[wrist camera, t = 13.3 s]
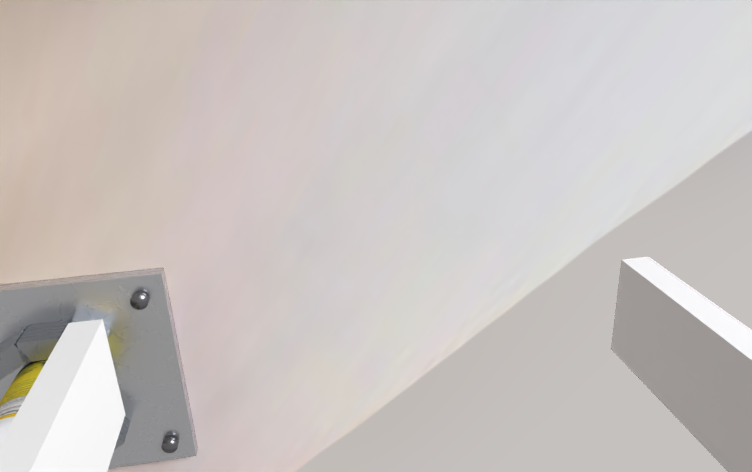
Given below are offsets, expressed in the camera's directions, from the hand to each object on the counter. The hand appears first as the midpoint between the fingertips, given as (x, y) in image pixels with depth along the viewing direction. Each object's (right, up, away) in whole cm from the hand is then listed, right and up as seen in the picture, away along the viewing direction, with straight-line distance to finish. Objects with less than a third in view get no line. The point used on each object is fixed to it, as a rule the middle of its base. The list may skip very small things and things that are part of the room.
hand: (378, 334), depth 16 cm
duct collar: (-23, -8, +30) cm, 39 cm away
